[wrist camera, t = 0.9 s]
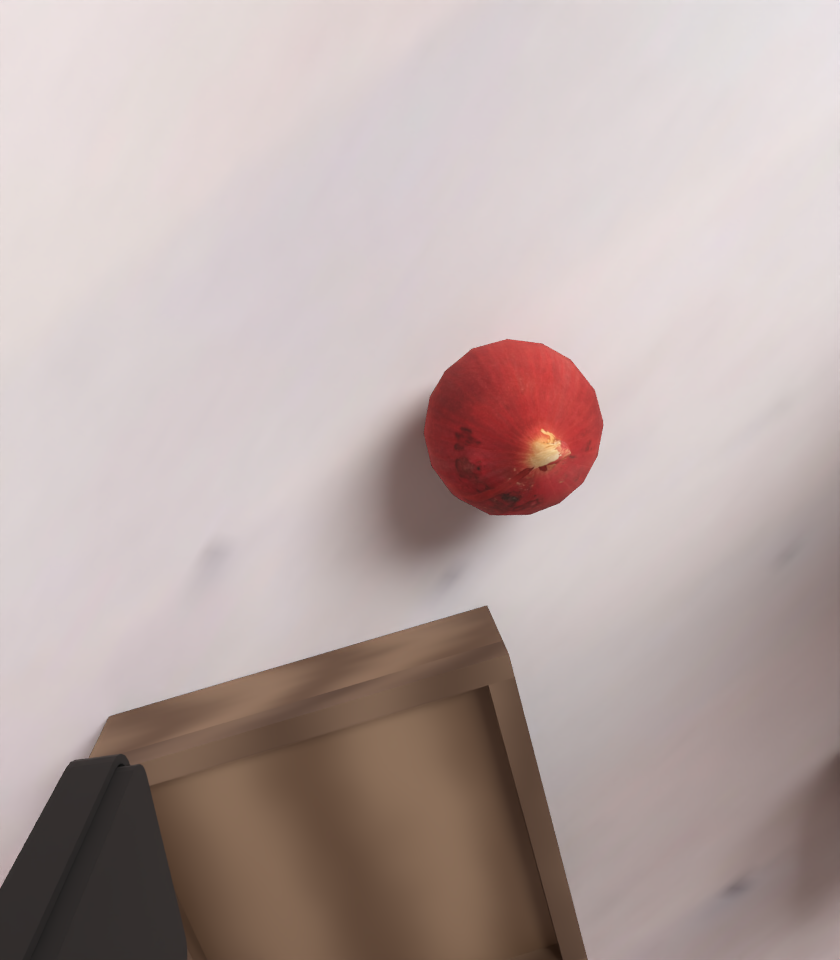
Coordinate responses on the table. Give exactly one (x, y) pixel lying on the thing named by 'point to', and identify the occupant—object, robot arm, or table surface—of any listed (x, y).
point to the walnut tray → (358, 806)
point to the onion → (513, 427)
